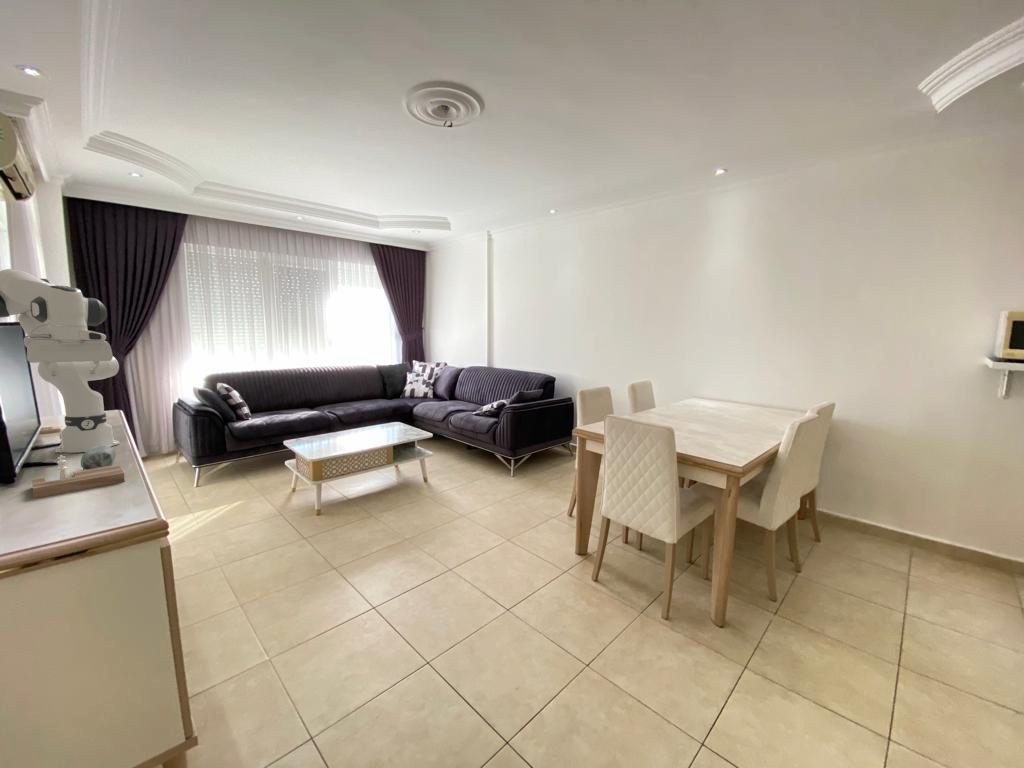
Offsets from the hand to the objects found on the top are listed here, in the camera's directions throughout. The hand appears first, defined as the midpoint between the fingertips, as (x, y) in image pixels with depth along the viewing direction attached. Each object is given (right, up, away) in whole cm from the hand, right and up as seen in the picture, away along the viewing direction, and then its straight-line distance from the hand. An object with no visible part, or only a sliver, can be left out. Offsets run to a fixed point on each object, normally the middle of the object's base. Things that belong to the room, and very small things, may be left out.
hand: (73, 374), depth 144 cm
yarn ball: (+3, -34, +6) cm, 35 cm away
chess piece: (+6, -36, -9) cm, 38 cm away
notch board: (+11, -36, -8) cm, 38 cm away
